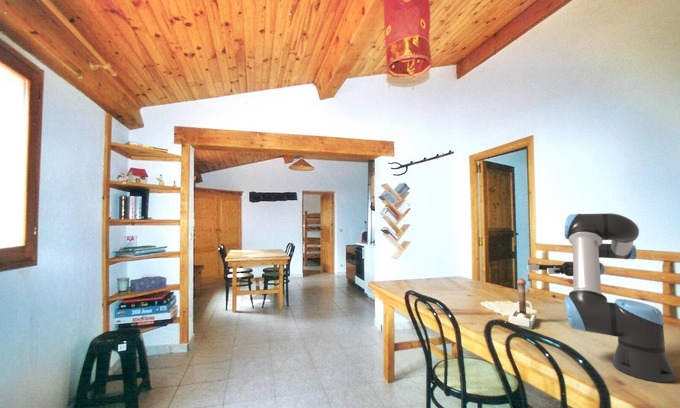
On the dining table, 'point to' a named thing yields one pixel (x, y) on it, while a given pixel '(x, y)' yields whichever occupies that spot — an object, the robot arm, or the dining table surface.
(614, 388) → the dining table surface
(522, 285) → the brown upright rod
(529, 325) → the white open tray
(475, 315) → the dining table surface
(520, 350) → the dining table surface
